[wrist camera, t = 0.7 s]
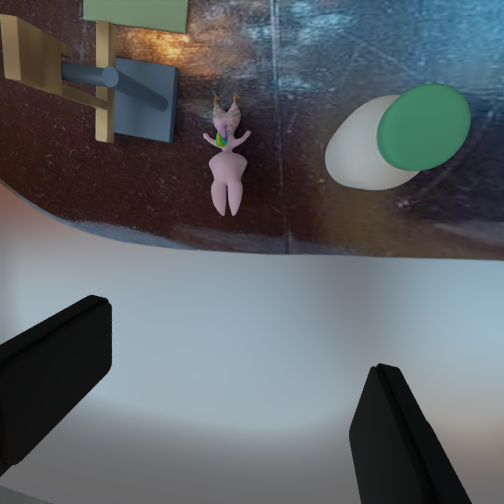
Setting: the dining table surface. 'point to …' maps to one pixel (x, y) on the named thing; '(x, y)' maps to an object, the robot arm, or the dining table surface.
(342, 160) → the milk bottle
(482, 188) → the dining table surface
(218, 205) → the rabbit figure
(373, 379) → the robot arm
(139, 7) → the mat
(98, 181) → the dining table surface
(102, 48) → the hanger
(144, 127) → the rail stand
